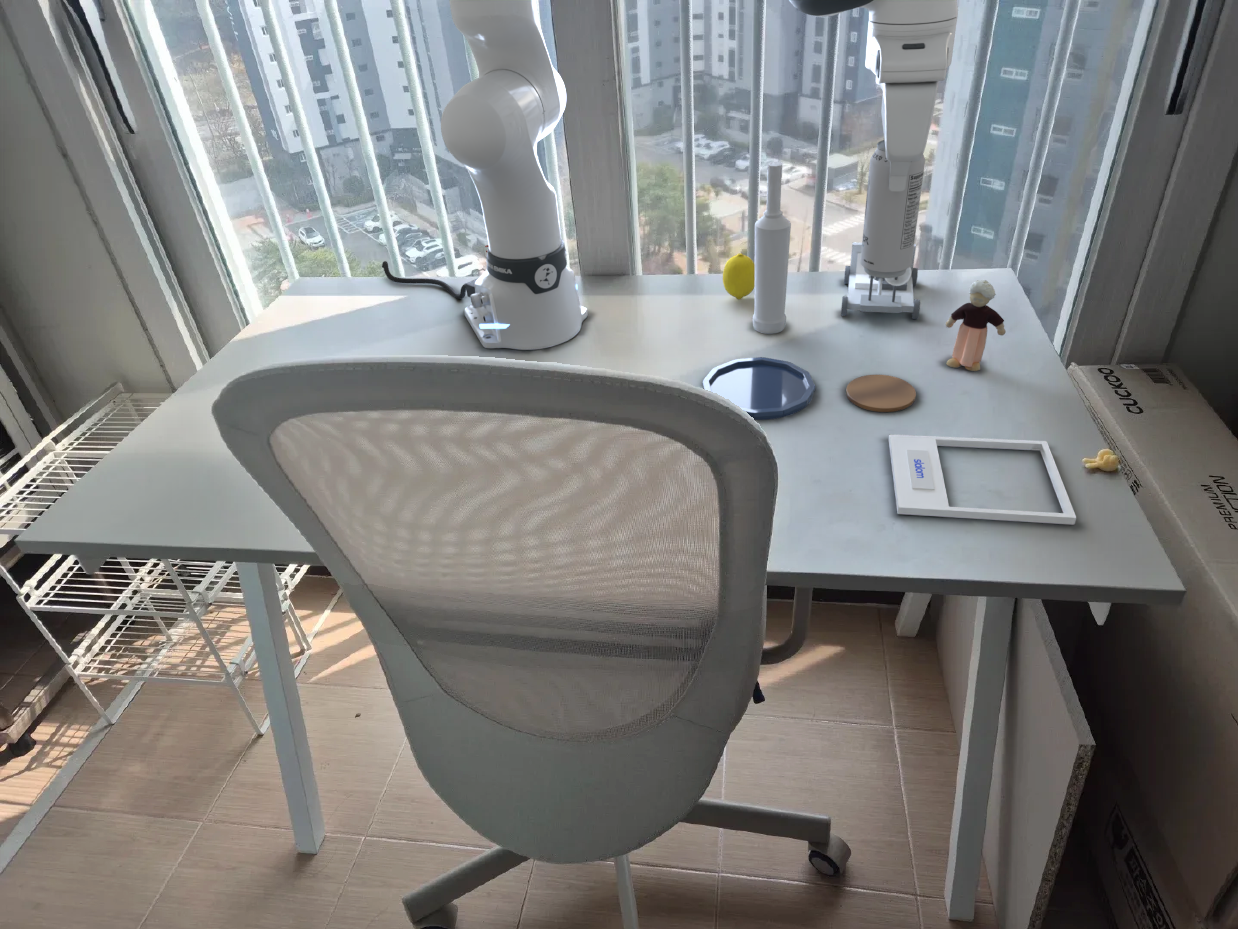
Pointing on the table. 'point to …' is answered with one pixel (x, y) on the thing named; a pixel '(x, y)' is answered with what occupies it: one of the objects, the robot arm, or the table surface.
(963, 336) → the grandmother figurine
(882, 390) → the coaster
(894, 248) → the energy drink can
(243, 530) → the table surface
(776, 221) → the bottle
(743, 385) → the plate
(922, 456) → the photo frame
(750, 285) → the lemon
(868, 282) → the toy car
